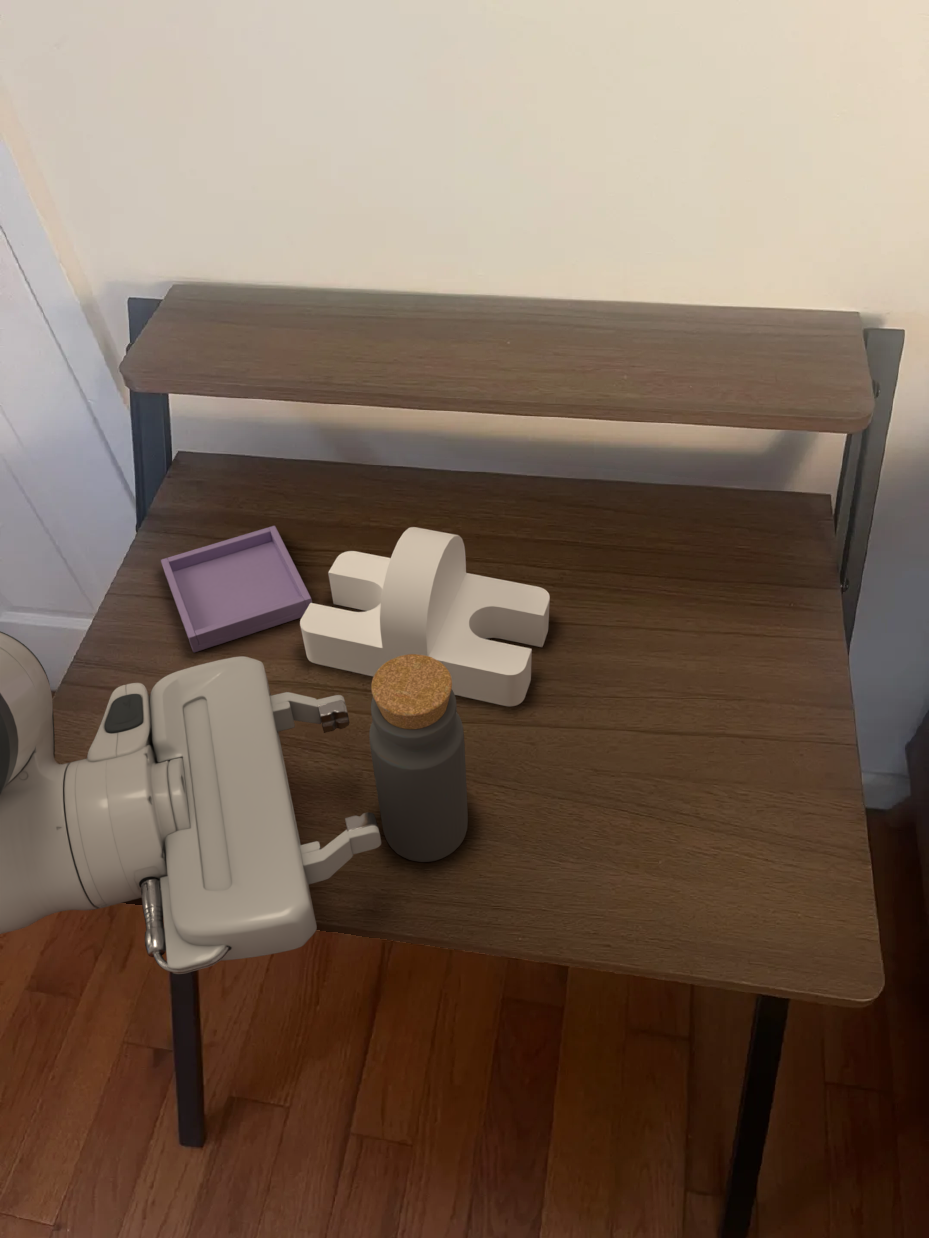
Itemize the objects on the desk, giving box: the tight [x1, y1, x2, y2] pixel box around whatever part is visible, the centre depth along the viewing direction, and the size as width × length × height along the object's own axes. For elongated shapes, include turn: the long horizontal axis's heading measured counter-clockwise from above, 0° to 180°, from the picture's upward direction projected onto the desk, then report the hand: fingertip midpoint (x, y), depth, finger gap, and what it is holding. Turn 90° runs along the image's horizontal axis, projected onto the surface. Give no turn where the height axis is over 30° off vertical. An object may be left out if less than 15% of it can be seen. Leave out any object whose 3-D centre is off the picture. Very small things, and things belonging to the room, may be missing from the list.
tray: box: [160, 525, 313, 653], centre depth 85 cm, size 10×10×2 cm
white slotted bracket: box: [299, 526, 551, 707], centre depth 78 cm, size 10×18×10 cm, turn 73°
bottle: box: [368, 654, 469, 863], centre depth 64 cm, size 6×6×15 cm
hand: (361, 766), depth 63 cm, fingers open, 8 cm apart
